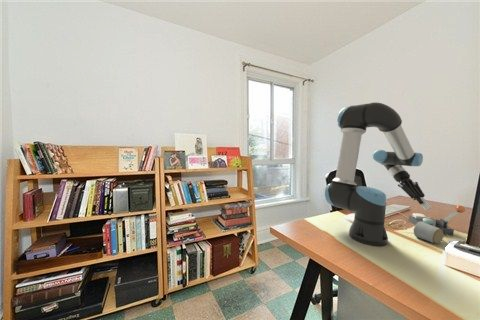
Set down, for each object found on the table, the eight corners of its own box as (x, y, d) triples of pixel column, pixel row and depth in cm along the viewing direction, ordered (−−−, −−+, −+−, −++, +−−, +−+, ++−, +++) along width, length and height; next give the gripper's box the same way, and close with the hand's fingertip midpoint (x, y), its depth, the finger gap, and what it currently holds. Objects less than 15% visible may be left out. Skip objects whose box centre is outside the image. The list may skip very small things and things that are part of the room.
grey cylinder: (434, 246, 86) (436, 229, 85) (412, 237, 94) (414, 221, 93) (447, 242, 90) (449, 226, 89) (425, 234, 97) (427, 219, 97)
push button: (425, 224, 101) (426, 220, 101) (420, 221, 105) (421, 217, 105) (435, 225, 100) (435, 221, 100) (429, 222, 104) (430, 218, 104)
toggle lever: (435, 221, 102) (456, 204, 93) (439, 220, 102) (461, 203, 94) (441, 227, 99) (464, 210, 91) (446, 226, 100) (469, 209, 92)
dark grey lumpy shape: (426, 232, 99) (427, 220, 99) (408, 220, 115) (409, 210, 114) (453, 235, 97) (454, 223, 96) (431, 222, 112) (432, 212, 111)
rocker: (415, 218, 110) (416, 216, 109) (412, 215, 112) (413, 213, 112) (425, 219, 108) (425, 216, 108) (421, 216, 111) (422, 213, 111)
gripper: (395, 170, 116) (425, 206, 101) (412, 169, 119) (443, 205, 104) (386, 177, 122) (413, 213, 107) (402, 176, 125) (431, 211, 110)
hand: (428, 209), depth 106 cm, fingers closed
